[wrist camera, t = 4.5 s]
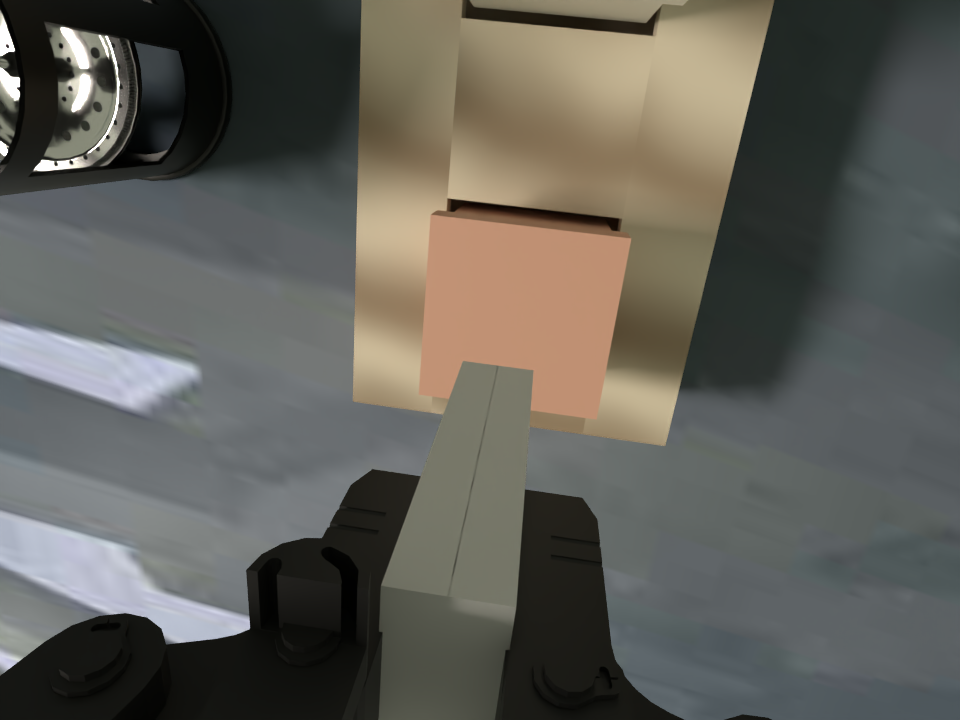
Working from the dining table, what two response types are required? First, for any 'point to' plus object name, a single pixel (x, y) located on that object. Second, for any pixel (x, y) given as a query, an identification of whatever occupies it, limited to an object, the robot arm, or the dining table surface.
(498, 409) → the robot arm
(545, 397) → the terracotta key
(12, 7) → the french press
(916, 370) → the dining table surface
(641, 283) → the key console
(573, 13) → the cream key
